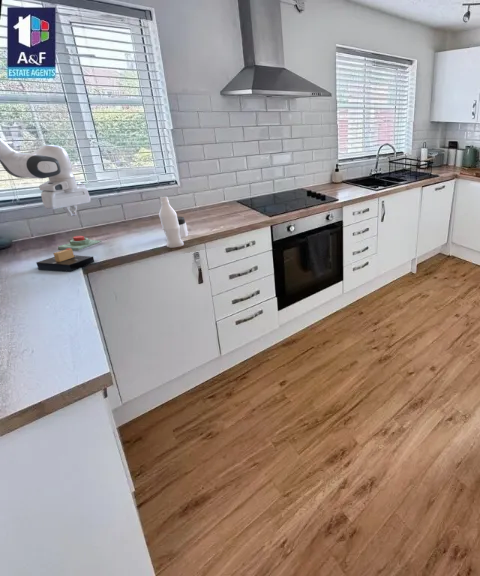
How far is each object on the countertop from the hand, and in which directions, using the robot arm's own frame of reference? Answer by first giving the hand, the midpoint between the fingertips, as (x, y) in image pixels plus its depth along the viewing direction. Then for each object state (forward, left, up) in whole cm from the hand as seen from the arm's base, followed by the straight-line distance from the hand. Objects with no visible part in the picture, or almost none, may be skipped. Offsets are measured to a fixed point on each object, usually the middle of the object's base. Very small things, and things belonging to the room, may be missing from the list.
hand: (72, 215), depth 167 cm
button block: (0, 0, -15) cm, 15 cm away
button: (0, 0, -12) cm, 12 cm away
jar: (+36, +20, -15) cm, 44 cm away
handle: (+16, -24, -12) cm, 31 cm away
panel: (+16, -24, -15) cm, 33 cm away
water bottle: (+43, +6, -15) cm, 46 cm away
